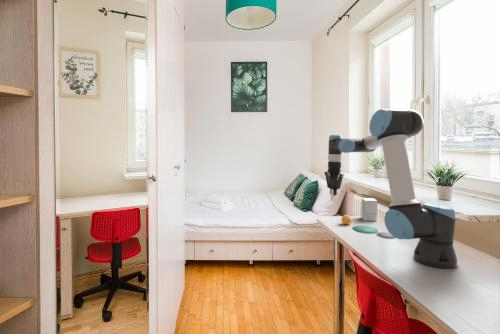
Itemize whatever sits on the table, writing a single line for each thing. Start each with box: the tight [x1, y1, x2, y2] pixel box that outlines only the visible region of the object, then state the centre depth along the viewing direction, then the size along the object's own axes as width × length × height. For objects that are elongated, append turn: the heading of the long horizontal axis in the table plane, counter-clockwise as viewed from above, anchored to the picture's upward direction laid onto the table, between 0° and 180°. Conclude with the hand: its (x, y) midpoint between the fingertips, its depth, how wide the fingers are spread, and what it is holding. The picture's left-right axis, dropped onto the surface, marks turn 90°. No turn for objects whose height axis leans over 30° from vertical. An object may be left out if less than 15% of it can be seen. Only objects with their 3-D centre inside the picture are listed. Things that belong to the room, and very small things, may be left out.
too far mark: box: [376, 231, 396, 239], centre depth 151 cm, size 9×9×1 cm
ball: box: [341, 214, 352, 225], centre depth 170 cm, size 6×6×6 cm
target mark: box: [352, 225, 379, 234], centre depth 161 cm, size 13×13×1 cm
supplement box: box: [360, 197, 378, 222], centre depth 180 cm, size 7×7×13 cm
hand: (333, 200), depth 177 cm, fingers closed
